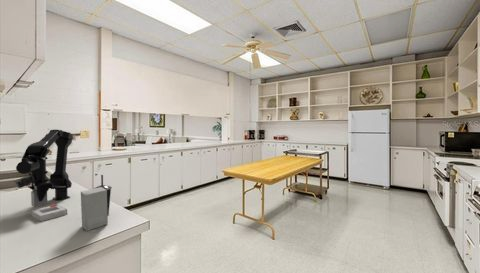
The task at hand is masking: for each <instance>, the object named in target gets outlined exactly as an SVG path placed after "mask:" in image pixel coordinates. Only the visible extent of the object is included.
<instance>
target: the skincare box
mask: <svg viewBox="0 0 480 273" xmlns="http://www.w3.org/2000/svg"><path fill="white" fill-rule="evenodd" d="M94 188H95V189H93V188H90V189H86V190H80V206H81V209H80V210H81V211H80V212H81V227H82V228H83V229H84V230H85V231H86V232H87V231H91V230H94V229H97V228H101V227H103V226H106V225H108V224H109V223H108V222H109V221H108V220H109V219H108V217H109V215H108V214H107V190H105V189H104V188H102V187H100V188H96V187H94Z"/></svg>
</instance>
